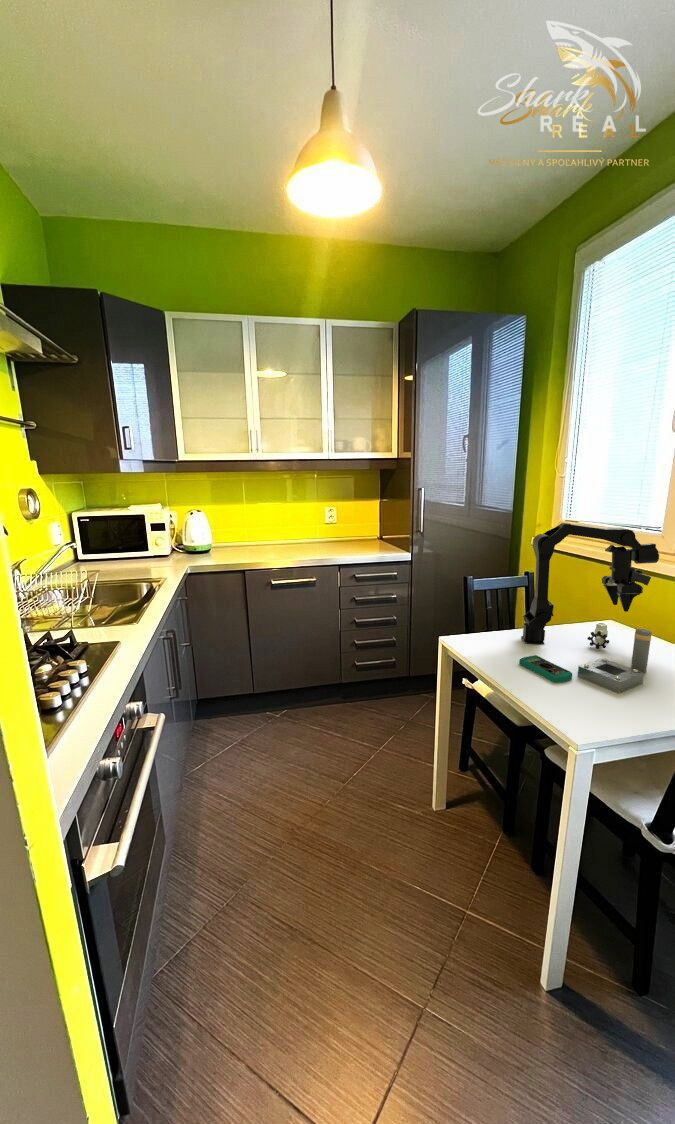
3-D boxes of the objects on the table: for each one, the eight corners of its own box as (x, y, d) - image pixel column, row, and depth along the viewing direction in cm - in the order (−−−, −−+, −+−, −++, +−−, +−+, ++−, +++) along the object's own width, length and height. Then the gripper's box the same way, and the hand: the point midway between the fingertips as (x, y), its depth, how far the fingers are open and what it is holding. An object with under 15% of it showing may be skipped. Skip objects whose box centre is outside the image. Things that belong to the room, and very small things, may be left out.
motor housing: (577, 676, 128) (578, 664, 127) (601, 668, 134) (602, 656, 133) (618, 693, 118) (620, 680, 117) (642, 683, 123) (644, 670, 122)
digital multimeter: (555, 685, 124) (556, 676, 123) (517, 665, 138) (518, 656, 137) (574, 681, 126) (575, 672, 126) (535, 661, 140) (535, 653, 140)
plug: (634, 673, 130) (639, 633, 128) (627, 667, 134) (632, 628, 132) (649, 673, 130) (654, 633, 127) (641, 667, 133) (647, 628, 131)
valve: (590, 637, 160) (586, 647, 151) (592, 620, 159) (588, 629, 150) (611, 640, 156) (608, 651, 147) (613, 623, 155) (610, 633, 146)
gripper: (661, 567, 135) (660, 615, 137) (635, 559, 153) (634, 601, 155) (622, 568, 138) (621, 615, 140) (601, 560, 156) (600, 601, 158)
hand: (620, 608), depth 148 cm, fingers open, 9 cm apart
